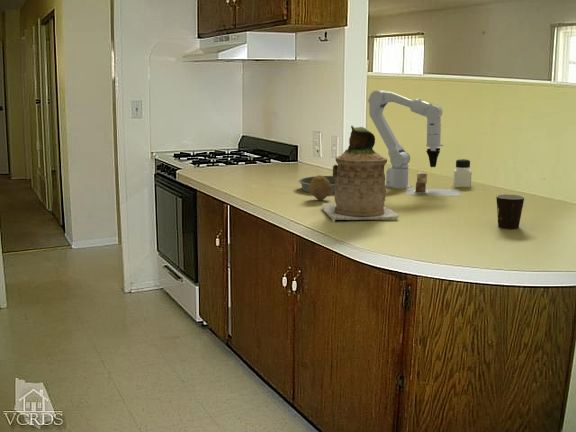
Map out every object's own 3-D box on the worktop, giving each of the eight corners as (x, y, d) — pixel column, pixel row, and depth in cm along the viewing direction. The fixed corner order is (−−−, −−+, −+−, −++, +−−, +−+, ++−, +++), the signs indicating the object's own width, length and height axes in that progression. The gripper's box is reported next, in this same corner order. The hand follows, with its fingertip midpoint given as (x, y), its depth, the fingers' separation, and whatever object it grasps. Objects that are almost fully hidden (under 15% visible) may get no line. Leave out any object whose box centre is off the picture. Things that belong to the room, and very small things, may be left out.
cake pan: (308, 184, 299) (308, 174, 298) (360, 186, 291) (360, 176, 290) (291, 193, 276) (290, 183, 275) (346, 196, 268) (346, 185, 267)
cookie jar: (400, 220, 221) (403, 127, 214) (329, 222, 219) (330, 128, 213) (384, 206, 245) (386, 122, 238) (320, 208, 243) (320, 123, 237)
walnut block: (415, 192, 271) (415, 183, 270) (415, 190, 275) (416, 181, 274) (425, 192, 270) (425, 183, 270) (425, 191, 274) (425, 181, 273)
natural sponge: (304, 199, 260) (303, 175, 258) (320, 196, 266) (320, 173, 264) (318, 202, 253) (318, 177, 251) (335, 200, 259) (335, 175, 256)
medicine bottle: (470, 187, 283) (472, 160, 281) (454, 187, 285) (455, 160, 282) (469, 185, 290) (470, 158, 287) (453, 184, 291) (454, 158, 289)
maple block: (416, 183, 270) (417, 173, 270) (417, 181, 274) (417, 172, 273) (426, 183, 269) (426, 173, 269) (426, 181, 273) (427, 172, 272)
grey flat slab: (405, 195, 267) (405, 194, 266) (407, 189, 282) (407, 187, 282) (460, 197, 262) (460, 196, 262) (459, 190, 277) (459, 189, 277)
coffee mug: (499, 222, 216) (500, 193, 214) (525, 225, 212) (527, 196, 209) (488, 229, 207) (489, 199, 205) (515, 233, 202) (517, 201, 200)
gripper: (443, 135, 267) (442, 168, 269) (443, 132, 280) (442, 163, 283) (425, 135, 268) (425, 168, 271) (426, 132, 282) (426, 163, 285)
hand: (433, 165), depth 277 cm, fingers open, 7 cm apart
